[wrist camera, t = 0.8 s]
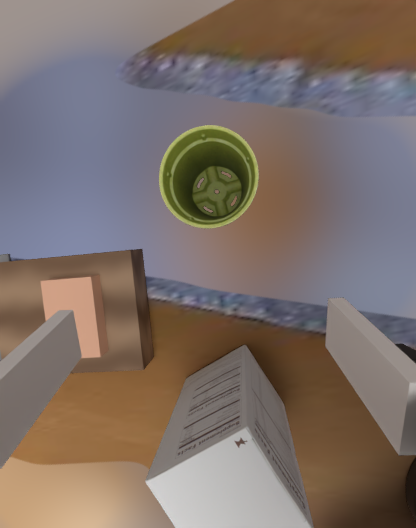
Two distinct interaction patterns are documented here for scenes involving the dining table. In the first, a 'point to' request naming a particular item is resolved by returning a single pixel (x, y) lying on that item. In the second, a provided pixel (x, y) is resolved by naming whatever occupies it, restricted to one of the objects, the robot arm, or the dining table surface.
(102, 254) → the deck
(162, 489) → the supplement box
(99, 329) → the tile
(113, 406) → the dining table surface
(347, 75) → the dining table surface
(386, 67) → the dining table surface
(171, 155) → the plant pot
